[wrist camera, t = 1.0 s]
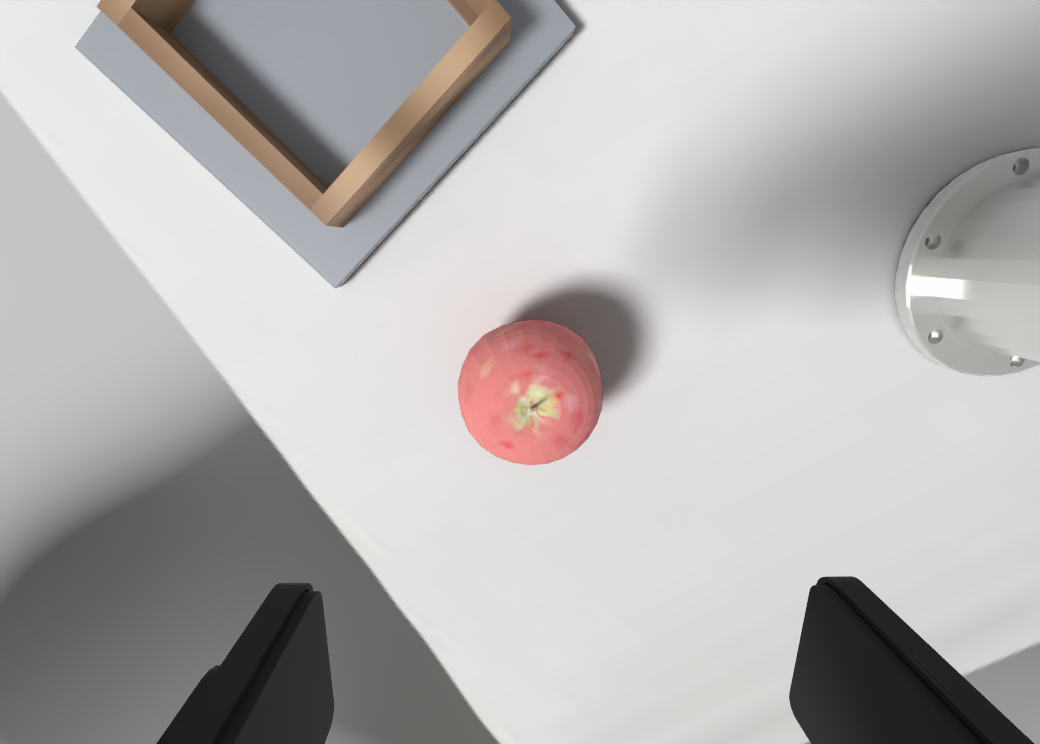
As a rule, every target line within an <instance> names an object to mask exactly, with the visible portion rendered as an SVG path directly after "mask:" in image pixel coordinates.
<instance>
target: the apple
mask: <svg viewBox="0 0 1040 744" xmlns="http://www.w3.org/2000/svg"><path fill="white" fill-rule="evenodd" d="M602 396H603V392H602V383H601V375H600V371H599V368H598V364H597V361H596V358H595V355H594V354H593V352H592V351H591V349H590V348H589V346H588V345H587V343H586V342H585V340H584V339H583V338H582V337H581V336H579V335H578V334H576V333H575V332H574V331H572V330H571V329H569V328H568V327H565V326H562V325H559V324H556V323H553V322H547V321H539V320H528V321H517V322H514V323H510V324H507V325H503V326H500V327H498V328H496V329H494V330H493V331H491V332H489V333H487V334H485V335H483V336H482V338H481V339H480V340H479V341H478V342H477V343H476V344H475V345H474V346H473V347H472V348H471V349H470V351H469V353H468V355H467V357H466V359H465V361H464V363H463V366H462V369H461V373H460V376H459V380H458V398H459V403H460V409H461V414H462V417H463V419H464V421H465V424H466V426H467V428H468V431H469V432H470V434H471V435H472V436H473V437H474V438H475V440H476V441H477V442H478V443H479V444H480V446H481V447H483V448H484V449H486V450H487V451H489V452H490V453H492V454H493V455H495V456H496V457H498V458H501V459H504V460H507V461H510V462H512V463H519V464H526V465H537V464H547V463H550V462H553V461H556V460H559V459H562V458H564V457H565V456H567V455H569V454H570V453H572V452H574V451H575V450H577V449H578V448H579V447H580V446H581V445H582V444H583V443H584V442H585V441H586V440H587V439H588V437H589V436H590V434H591V433H592V431H593V429H594V428H595V426H596V424H597V422H598V419H599V416H600V412H601V409H602Z"/></svg>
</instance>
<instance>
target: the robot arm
mask: <svg viewBox="0 0 1040 744" xmlns="http://www.w3.org/2000/svg"><path fill="white" fill-rule="evenodd" d="M895 300H896V306H897V313H898V317H899V319H900V322H901V325H902V327H903V330H904V332H905V334H906V335H907V337H908V338H909V340H910V341H911V343H912V344H913V346H914V347H915V348H916V349H917V350H918V351H920V352H921V353H922V354H923V355H924V356H925V357H926V358H927V359H929V360H931V361H933V362H935V363H936V364H938V365H940V366H942V367H945V368H949V369H952V370H955V371H958V372H961V373H966V374H972V375H977V376H1002V375H1007V374H1013V373H1017V372H1021V371H1023V370H1026V369H1029V368H1031V367H1034V366H1037V365H1039V364H1040V148H1036V149H1027V150H1021V151H1017V152H1012V153H1007V154H1003V155H998V156H996V157H994V158H991V159H989V160H986V161H984V162H982V163H979V164H977V165H975V166H974V167H972V168H970V169H969V170H967V171H966V172H964V173H962V174H961V175H959V176H958V177H956V178H955V179H954V180H953V181H951V182H950V183H949V184H948V185H947V186H946V187H945V188H943V189H942V190H941V191H940V192H939V193H938V194H937V195H936V196H935V197H934V199H933V200H932V201H931V202H930V203H929V204H928V206H927V207H926V208H925V209H924V210H923V211H922V213H921V215H920V216H919V218H918V219H917V221H916V223H915V224H914V226H913V228H912V229H911V231H910V233H909V235H908V237H907V240H906V242H905V245H904V247H903V249H902V252H901V255H900V259H899V263H898V268H897V272H896V282H895ZM789 698H790V705H791V709H792V711H793V714H794V716H795V718H796V720H797V721H798V723H799V724H800V726H801V728H802V729H803V731H804V732H805V734H806V736H807V737H808V739H809V741H810V742H811V744H1034V743H1033V742H1032V741H1031V740H1030V739H1029V738H1028V737H1027V736H1025V735H1024V734H1023V733H1022V732H1021V731H1020V730H1019V729H1018V728H1017V727H1016V726H1015V725H1014V724H1013V723H1012V722H1011V721H1010V720H1008V719H1007V718H1006V717H1005V716H1004V715H1003V714H1002V713H1001V712H1000V711H999V710H998V709H997V708H996V707H995V706H994V705H992V704H991V703H990V702H989V701H988V700H987V699H986V698H985V697H984V696H983V695H982V694H981V693H980V692H979V691H978V690H976V689H975V688H974V687H973V686H972V685H971V684H970V683H969V682H968V681H967V680H966V679H965V678H964V677H963V676H962V675H961V674H959V673H958V672H957V671H956V670H955V669H954V668H953V667H952V666H951V665H950V664H949V663H948V662H947V661H946V660H945V659H943V658H942V657H941V656H940V655H939V654H938V653H937V652H936V651H935V650H934V649H933V648H932V647H931V646H930V645H929V644H927V643H926V642H925V641H924V640H923V639H922V638H921V637H920V636H919V635H918V634H917V633H916V632H915V631H914V630H913V629H911V628H910V627H909V626H908V625H907V624H906V623H905V622H904V621H903V620H902V619H901V618H900V617H899V616H898V615H897V614H896V613H894V612H893V611H892V610H891V609H890V608H889V607H888V606H887V605H886V604H885V603H884V602H883V601H882V600H881V599H880V598H878V597H877V596H876V595H875V594H874V593H873V592H872V591H871V590H870V589H869V588H868V587H867V586H866V585H865V584H864V583H862V582H861V581H860V580H859V579H857V578H855V577H822V578H820V579H819V580H818V582H817V584H816V585H814V586H812V587H811V589H810V592H809V597H808V602H807V607H806V612H805V617H804V622H803V627H802V632H801V637H800V643H799V648H798V653H797V658H796V663H795V668H794V673H793V678H792V683H791V688H790V695H789ZM333 713H334V699H333V690H332V682H331V673H330V663H329V654H328V646H327V637H326V628H325V619H324V610H323V601H322V595H321V593H320V592H319V591H317V592H315V591H313V588H312V586H311V584H309V583H279V584H277V585H275V586H274V588H273V589H272V590H271V592H270V593H269V595H268V596H267V597H266V599H265V601H264V602H263V603H262V605H261V606H260V608H259V609H258V611H257V612H256V614H255V615H254V617H253V618H252V620H251V621H250V623H249V624H248V626H247V627H246V629H245V630H244V632H243V633H242V634H241V636H240V637H239V639H238V640H237V642H236V644H235V645H234V646H233V648H232V649H231V651H230V652H229V654H228V655H227V657H226V658H225V660H224V661H223V663H222V664H221V665H219V666H215V667H213V668H212V669H210V670H209V671H208V672H207V673H206V675H205V676H204V677H203V678H202V679H201V681H200V682H199V684H198V685H197V687H196V688H195V689H194V691H193V692H192V694H191V695H190V696H189V698H188V699H187V701H186V703H185V704H184V705H183V706H182V708H181V709H180V711H179V712H178V714H177V715H176V717H175V718H174V719H173V721H172V722H171V724H170V725H169V727H168V728H167V730H166V731H165V732H164V734H163V735H162V737H161V738H160V740H159V741H158V742H157V744H325V741H326V738H327V735H328V733H329V730H330V727H331V723H332V719H333Z"/></svg>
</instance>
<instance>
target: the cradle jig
mask: <svg viewBox="0 0 1040 744" xmlns="http://www.w3.org/2000/svg"><path fill="white" fill-rule="evenodd" d="M97 7H98V8H99V9H100V10H101V11H100V13H99V14H98V15H97V17H96V18H95V20H94V21H93V22H92V24H91V25H90V27H89V28H88V29H87V31H86V32H85V34H84V35H83V36H82V38H81V39H80V40H79V42H78V43H77V45H76V46H75V48H76V49H77V50H78V51H79V52H81V53H82V54H83V55H84V56H85V57H86V58H87V59H88V60H89V61H90V62H91V63H92V64H94V65H95V66H96V67H97V68H98V69H99V70H100V71H101V72H102V73H103V74H104V75H105V76H106V77H108V78H109V79H110V80H111V81H112V82H113V83H114V84H115V85H116V86H117V87H118V88H119V89H120V90H122V91H123V92H124V93H125V94H126V95H127V96H128V97H129V98H130V99H131V100H132V101H133V102H134V103H136V104H137V105H138V106H139V107H140V108H141V109H142V110H143V111H144V112H145V113H146V114H147V115H149V116H150V117H151V118H152V119H153V120H154V121H155V122H156V123H157V124H158V125H159V126H160V127H161V128H163V129H164V130H165V131H166V132H167V133H168V134H169V135H170V136H171V137H172V138H173V139H174V140H175V141H177V142H178V143H179V144H180V145H181V146H182V147H183V148H184V149H185V150H186V151H187V152H188V153H190V154H191V155H192V156H193V157H194V158H195V159H196V160H197V161H198V162H199V163H200V164H201V165H202V166H204V167H205V168H206V169H207V170H208V171H209V172H210V173H211V174H212V175H213V176H214V177H215V178H216V179H218V180H219V181H220V182H221V183H222V184H223V185H224V186H225V187H226V188H227V189H228V190H229V191H230V192H232V193H233V194H234V195H235V196H236V197H237V198H238V199H239V200H240V201H241V202H242V203H243V204H245V205H246V206H247V207H248V208H249V209H250V210H251V211H252V212H253V213H254V214H255V215H256V216H257V217H259V218H260V219H261V220H262V221H263V222H264V223H265V224H266V225H267V226H268V227H269V228H270V229H271V230H273V231H274V232H275V233H276V234H277V235H278V236H279V237H280V238H281V239H282V240H283V241H284V242H286V243H287V244H288V245H289V246H290V247H291V248H292V249H293V250H294V251H295V252H296V253H297V254H298V255H300V256H301V257H302V258H303V259H304V260H305V261H306V262H307V263H308V264H309V265H310V266H311V267H312V268H314V269H315V270H316V271H317V272H318V273H319V274H320V275H321V276H322V277H323V278H324V279H325V280H326V281H328V282H329V283H330V284H331V285H332V286H333V287H334V288H337V287H341V286H342V285H343V284H344V283H345V282H346V280H347V279H348V278H349V277H350V276H351V275H352V274H353V273H354V272H355V271H356V270H357V269H358V267H359V266H360V265H361V264H362V263H363V262H364V261H365V260H366V259H367V258H368V257H369V256H370V254H371V253H372V252H373V251H374V250H375V249H376V248H377V247H378V246H379V245H380V244H381V243H382V241H383V240H384V239H385V238H386V237H387V236H388V235H389V234H390V233H391V232H392V231H393V230H394V228H395V227H396V226H397V225H398V224H399V223H400V222H401V221H402V220H403V219H404V218H405V217H406V215H407V214H408V213H409V212H410V211H411V210H412V209H413V208H414V207H415V206H416V205H417V204H418V202H419V201H420V200H421V199H422V198H423V197H424V196H425V195H426V194H427V193H428V192H429V191H430V189H431V188H432V187H433V186H434V185H435V184H436V183H437V182H438V181H439V180H440V179H441V178H442V176H443V175H444V174H445V173H446V172H447V171H448V170H449V169H450V168H451V167H452V166H453V165H454V163H455V162H456V161H457V160H458V159H459V158H460V157H461V156H462V155H463V154H464V153H465V152H466V150H467V149H468V148H469V147H470V146H471V145H472V144H473V143H474V142H475V141H476V140H477V139H478V137H479V136H480V135H481V134H482V133H483V132H484V131H485V130H486V129H487V128H488V127H489V126H490V124H491V123H492V122H493V121H494V120H495V119H496V118H497V117H498V116H499V115H500V114H501V113H502V111H503V110H504V109H505V108H506V107H507V106H508V105H509V104H510V103H511V102H512V101H513V100H514V98H515V97H516V96H517V95H518V94H519V93H520V92H521V91H522V90H523V89H524V88H525V87H526V85H527V84H528V83H529V82H530V81H531V80H532V79H533V78H534V77H535V76H536V75H537V74H538V72H539V71H540V70H541V69H542V68H543V67H544V66H545V65H546V64H547V63H548V62H549V61H550V59H551V58H552V57H553V56H554V55H555V54H556V53H557V52H558V51H559V50H560V49H561V48H562V46H563V45H564V44H565V43H566V42H567V41H568V40H569V39H570V38H571V37H572V36H573V33H574V30H575V27H576V26H575V25H574V24H573V22H572V21H571V20H570V19H569V17H568V16H567V15H566V14H565V12H564V11H563V10H562V9H561V8H560V6H559V5H558V4H557V3H556V1H555V0H101V1H100V3H99V4H98V5H97Z"/></svg>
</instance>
